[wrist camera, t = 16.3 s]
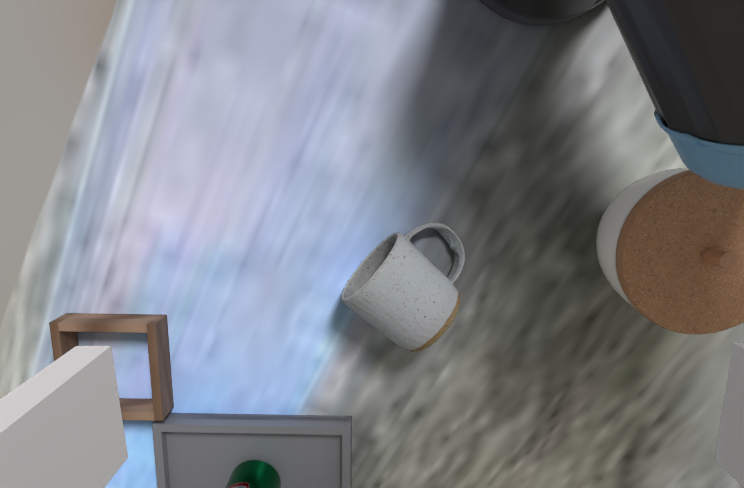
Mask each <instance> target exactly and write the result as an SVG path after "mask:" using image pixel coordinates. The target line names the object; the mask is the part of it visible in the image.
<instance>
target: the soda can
mask: <svg viewBox="0 0 744 488" xmlns="http://www.w3.org/2000/svg"><path fill="white" fill-rule="evenodd" d="M225 488H281V480H280V476H279V474H278V472H277V471H276V469H275V468H274V467H272V466H271V465H270V464H268V463H267V462H264V461H261V460H248V461H245V462H242V463H240V464H239V465H238V466H237V467H235V469H234V470H233V472H232V474H231V476H230V478H229V480H228V483H227V485H226V487H225Z"/></svg>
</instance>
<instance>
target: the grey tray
mask: <svg viewBox="0 0 744 488" xmlns="http://www.w3.org/2000/svg"><path fill="white" fill-rule="evenodd" d="M152 429H153V440H154V452H155V464H156V475H157V487H158V488H225V487H226V485H227V483H228V480H229V478H230V476H231V474H232V472H233V470H234V469H235V467H237V466H238V465H239V464H240V463H242V462H245V461H248V460H261V461H264V462H267V463H268V464H270V465H271V466H272V467H274V468H275V469H276V471H277V472H278V474H279V476H280V480H281V488H351V455H352V416H314V415H256V414H198V413H168V415H167V416H166V417H165V419H164V420H163V421H154V422H153V424H152Z"/></svg>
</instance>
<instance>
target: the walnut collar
mask: <svg viewBox="0 0 744 488" xmlns="http://www.w3.org/2000/svg"><path fill="white" fill-rule="evenodd" d="M49 325H50V333H51V340H52V348H53V356H54V361H56V360H57V359H58V358H60V357H61V356H63V355H64V354H66V353H67V352H68V351H70V350H71V349H73V348H74V347H76V346H78V337H77V332H136V333H147V339H148V351H149V362H150V374H151V386H152V398H153V399H125V398H119V401H120V408H121V415H122V420H151V421H163V420H164V419H165V417H166V416H167V415H168V413H169V412H170V411H171V409H172V408H173V407H174V405H173V391H172V378H171V365H170V352H169V338H168V325H167V315H140V314H78V313H66V314H64V315H62V316H61V317H59V318H57V319H55V320H53V321H52V322H50V323H49Z"/></svg>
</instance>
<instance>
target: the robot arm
mask: <svg viewBox="0 0 744 488" xmlns="http://www.w3.org/2000/svg"><path fill="white" fill-rule="evenodd" d="M481 1H482V2H483V3H484V4H485V5H486V6H488V7H489V8H490V9H491V10H493V11H494V12H496V13H497V14H499V15H501V16H503V17H505V18H507V19H510V20H512V21H515V22H518V23H523V24H529V25H552V24H558V23H562V22H566V21H569V20H571V19H574V18H576V17H579V16H581V15H582V14H584V13H586V12H588V11H589V10H591V9H593V8H594V7H596V6H597V5H599V4H601V3H602V2H603V1H605V0H481ZM606 2H607V4H608V7H609V9H610V11H611V13H612V15H613V17H614V20H615V22H616V24H617V26H618V28H619V31H620V33H621V35H622V37H623V39H624V41H625V44H626V46H627V48H628V50H629V52H630V55H631V57H632V59H633V61H634V63H635V65H636V68H637V70H638V72H639V74H640V76H641V79H642V81H643V83H644V85H645V87H646V89H647V92H648V94H649V96H650V98H651V100H652V103H653V105H654V107H655V112H654V115H655V118H656V120H657V122H658V124H659V126H660V127H661V128H662V129H663V130H664V131H665V132H666V133H668V135H669V137H670V139H671V141H672V142H673V144H674V146H675V148H676V150H677V152H678V154H679V156H680V158H681V160H682V161H683V163H684V164H685V165H686V167H687V168H688V169H689V170H690V171H692V172H693V173H695V174H697V175H699V176H701V177H702V178H704V179H706V180H707V181H709V182H711V183H714V184H717V185H721V186H726V187H730V188H737V189H744V0H606ZM127 458H128V454H127V447H126V441H125V434H124V428H123V421H122V415H121V408H120V401H119V395H118V388H117V382H116V375H115V369H114V362H113V356H112V349H111V346H76V347H74V348H73V349H71V350H70V351H68V352H67V353H66V354H64V355H63V356H61V357H60V358H58V359H57V360H56V361H54V362H53V363H51V364H50V365H48V366H47V367H46V368H44V369H43V370H41V371H40V372H38V373H37V374H36V375H34V376H33V377H31V378H30V379H29V380H27V381H26V382H24V383H23V384H21V385H20V386H19V387H17V388H16V389H14V390H13V391H11V392H10V393H9V394H7V395H6V396H4V397H3V398H1V399H0V488H104V487H105V486H106V485H107V484H108V482H109V481H110V480H111V478H112V477H113V476H114V475H115V473H116V472H117V471H118V470H119V468H120V467H121V466H122V464H123V463H124V462H125V461H126V459H127ZM714 459H715V460H716V461H717V462H718V463H719V464H720V465H721V466H722V467H723V468H724V469H725V470H726V471H727V472H728V473H729V474H730V475H731V476H732V477H733V478H734V479H735V480H736V481H737V482H738V483H739V484H740V485H741V486H742V487H743V488H744V342H738V343H733V347H732V353H731V360H730V366H729V372H728V378H727V384H726V390H725V397H724V403H723V409H722V415H721V421H720V427H719V434H718V440H717V446H716V452H715V458H714Z"/></svg>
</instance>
